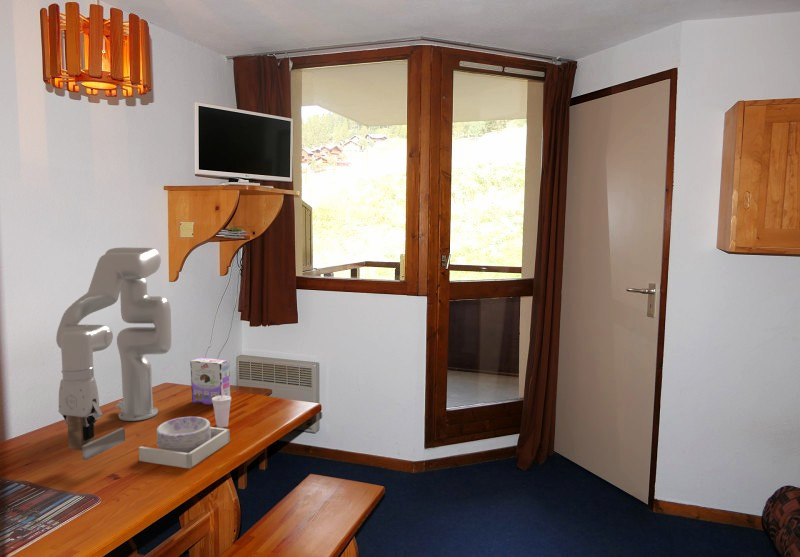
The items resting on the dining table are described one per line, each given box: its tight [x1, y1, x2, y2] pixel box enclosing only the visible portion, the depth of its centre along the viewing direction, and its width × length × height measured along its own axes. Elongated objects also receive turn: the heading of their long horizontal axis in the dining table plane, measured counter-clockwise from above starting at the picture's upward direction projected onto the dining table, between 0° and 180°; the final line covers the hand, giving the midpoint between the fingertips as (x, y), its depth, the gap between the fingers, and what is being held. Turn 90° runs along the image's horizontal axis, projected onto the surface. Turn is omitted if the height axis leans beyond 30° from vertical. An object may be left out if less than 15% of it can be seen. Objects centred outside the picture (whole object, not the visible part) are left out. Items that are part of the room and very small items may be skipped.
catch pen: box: [138, 426, 231, 470], centre depth 170 cm, size 17×20×4 cm
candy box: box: [189, 357, 231, 406], centre depth 214 cm, size 14×6×16 cm, turn 71°
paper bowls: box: [156, 416, 211, 453], centre depth 171 cm, size 15×15×8 cm
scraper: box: [67, 416, 126, 461], centre depth 158 cm, size 11×14×10 cm
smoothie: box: [212, 385, 232, 429], centre depth 190 cm, size 6×6×14 cm
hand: (81, 437), depth 159 cm, fingers closed on scraper, 4 cm apart
